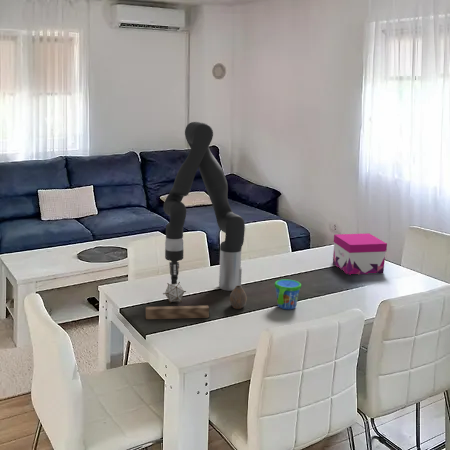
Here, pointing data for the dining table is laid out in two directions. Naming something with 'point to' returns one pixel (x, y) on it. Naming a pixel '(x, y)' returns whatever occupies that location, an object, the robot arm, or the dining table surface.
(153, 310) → the board
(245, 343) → the dining table surface
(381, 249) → the decorative box
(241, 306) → the vase
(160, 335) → the dining table surface
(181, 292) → the game die
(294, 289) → the snack cup
